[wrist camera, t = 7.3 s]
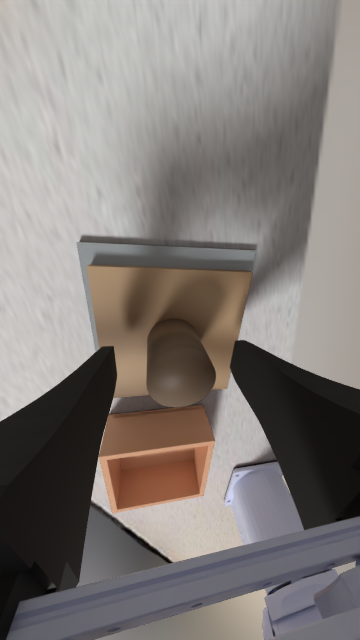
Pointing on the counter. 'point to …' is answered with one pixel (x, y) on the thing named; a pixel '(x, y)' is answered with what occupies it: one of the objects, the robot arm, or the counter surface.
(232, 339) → the walnut lid
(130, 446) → the terracotta open box
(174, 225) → the counter surface
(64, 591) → the robot arm
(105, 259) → the rubber mat
